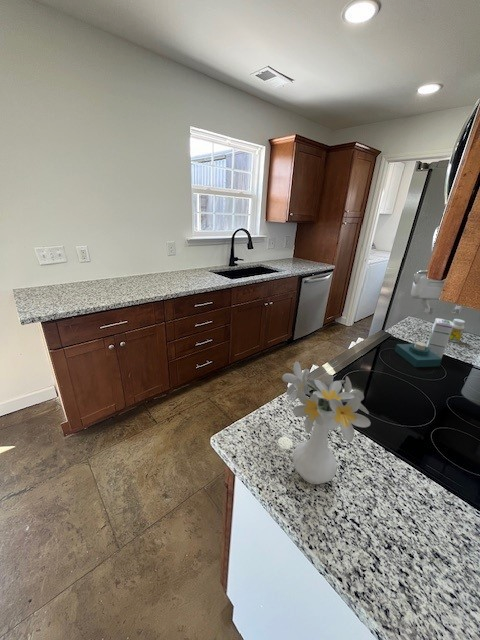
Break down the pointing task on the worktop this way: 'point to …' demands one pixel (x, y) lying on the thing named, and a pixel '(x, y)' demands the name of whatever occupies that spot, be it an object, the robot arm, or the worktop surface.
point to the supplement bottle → (457, 330)
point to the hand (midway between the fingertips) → (442, 313)
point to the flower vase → (322, 421)
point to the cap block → (417, 355)
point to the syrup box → (439, 336)
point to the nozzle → (420, 345)
